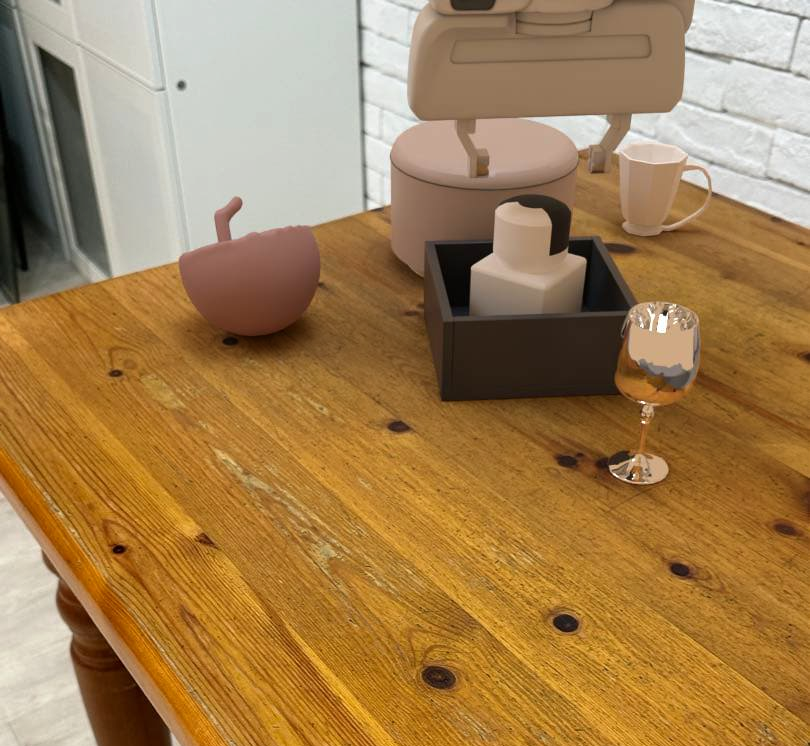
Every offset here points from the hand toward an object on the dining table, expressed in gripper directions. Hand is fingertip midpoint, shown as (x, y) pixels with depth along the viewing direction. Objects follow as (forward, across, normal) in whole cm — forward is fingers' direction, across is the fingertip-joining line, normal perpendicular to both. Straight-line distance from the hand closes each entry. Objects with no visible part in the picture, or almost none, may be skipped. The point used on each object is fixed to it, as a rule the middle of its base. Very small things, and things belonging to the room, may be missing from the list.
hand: (538, 173), depth 81 cm
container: (+15, +1, -20) cm, 25 cm away
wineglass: (+16, -5, +18) cm, 25 cm away
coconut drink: (+15, +23, -6) cm, 29 cm away
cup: (+16, -19, -26) cm, 36 cm away
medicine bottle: (+14, 0, 0) cm, 15 cm away
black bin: (+15, 0, 0) cm, 15 cm away
